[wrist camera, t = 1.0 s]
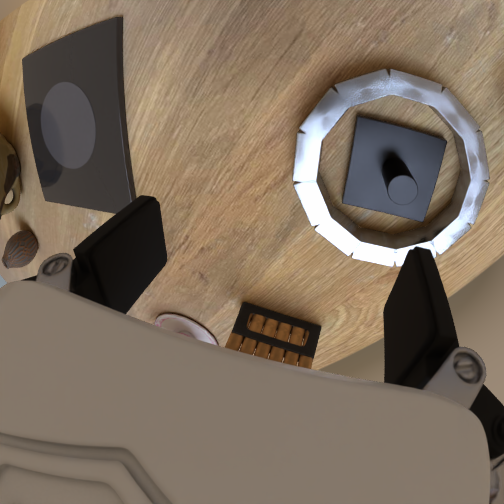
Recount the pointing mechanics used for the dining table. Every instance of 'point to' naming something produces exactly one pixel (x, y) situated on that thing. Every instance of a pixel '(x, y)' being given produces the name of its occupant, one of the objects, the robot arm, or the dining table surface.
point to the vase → (20, 250)
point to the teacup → (184, 327)
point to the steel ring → (370, 241)
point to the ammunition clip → (266, 340)
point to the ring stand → (392, 168)
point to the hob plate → (80, 119)
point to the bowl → (8, 176)
